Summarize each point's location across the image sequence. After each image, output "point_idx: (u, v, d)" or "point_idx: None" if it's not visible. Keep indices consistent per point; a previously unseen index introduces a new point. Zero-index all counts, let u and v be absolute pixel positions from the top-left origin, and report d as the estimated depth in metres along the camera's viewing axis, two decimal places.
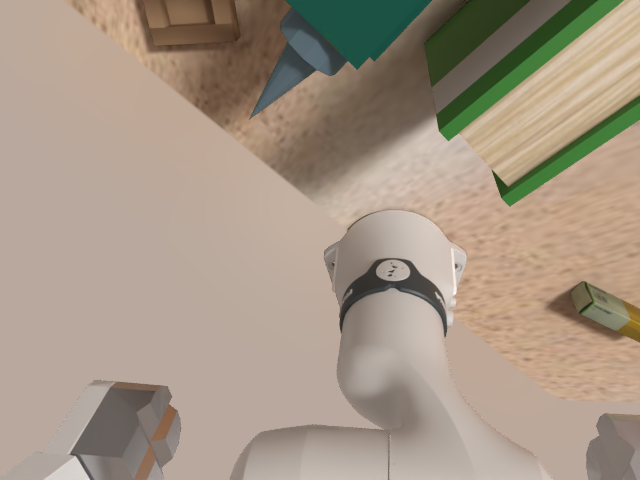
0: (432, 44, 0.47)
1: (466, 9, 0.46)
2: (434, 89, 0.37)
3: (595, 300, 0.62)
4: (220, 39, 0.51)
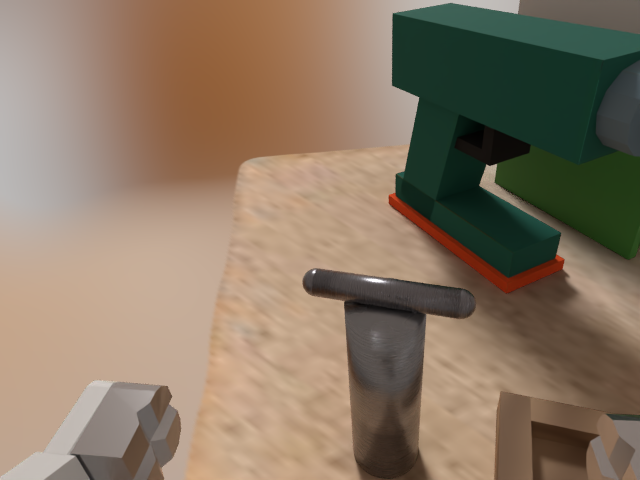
0: (628, 226, 0.43)
1: (587, 214, 0.47)
2: None
3: None
4: None
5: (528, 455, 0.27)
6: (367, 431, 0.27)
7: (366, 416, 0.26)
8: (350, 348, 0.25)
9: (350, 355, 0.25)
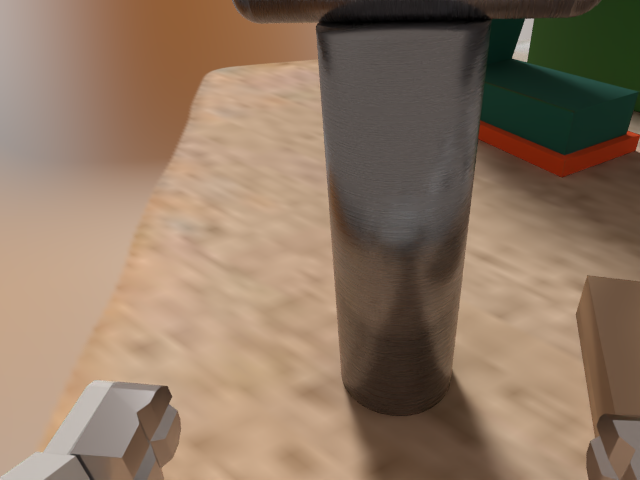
0: None
1: None
2: None
3: None
4: None
5: None
6: (365, 320, 0.15)
7: (363, 284, 0.14)
8: (329, 126, 0.12)
9: (330, 147, 0.12)
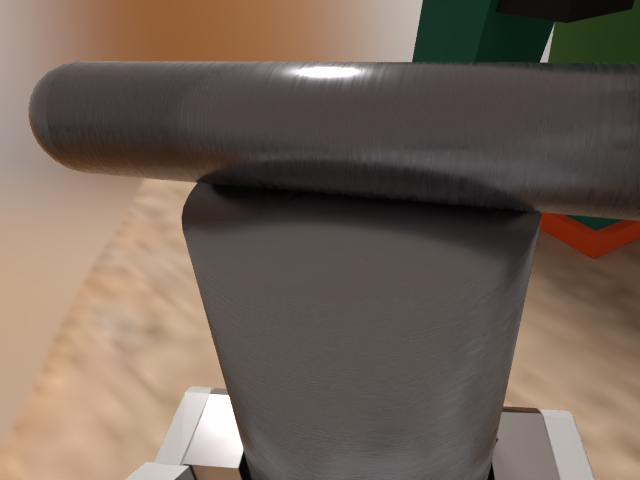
0: None
1: None
2: None
3: None
4: None
5: None
6: None
7: None
8: (223, 375, 0.06)
9: (230, 401, 0.07)
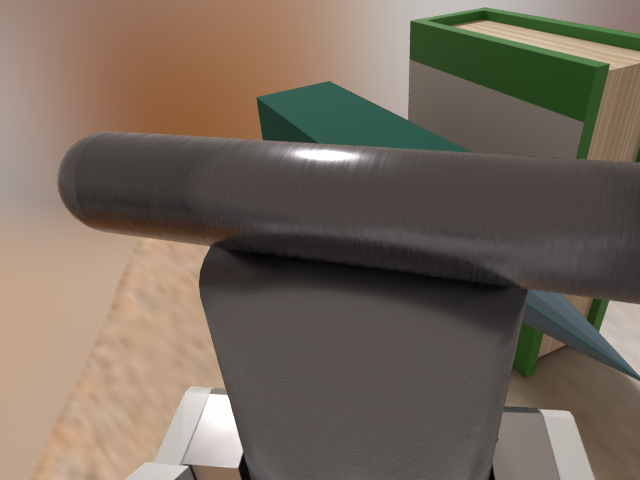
0: (522, 342, 0.38)
1: None
2: None
3: None
4: None
5: None
6: None
7: None
8: (235, 421, 0.07)
9: (241, 443, 0.07)
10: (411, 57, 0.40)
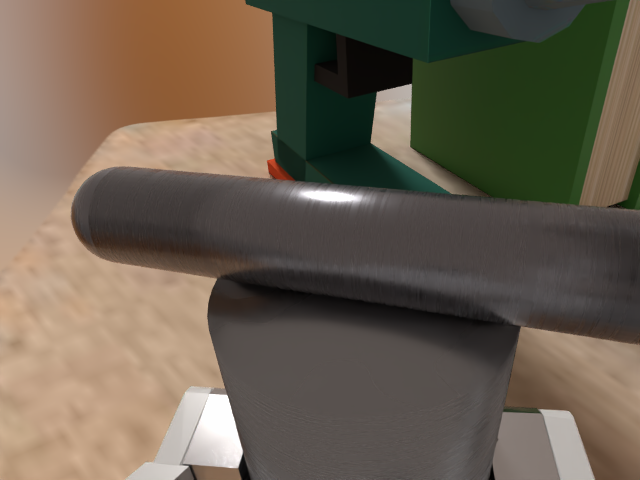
0: (559, 190, 0.30)
1: (509, 178, 0.34)
2: None
3: None
4: None
5: None
6: None
7: None
8: None
9: (246, 464, 0.07)
10: None
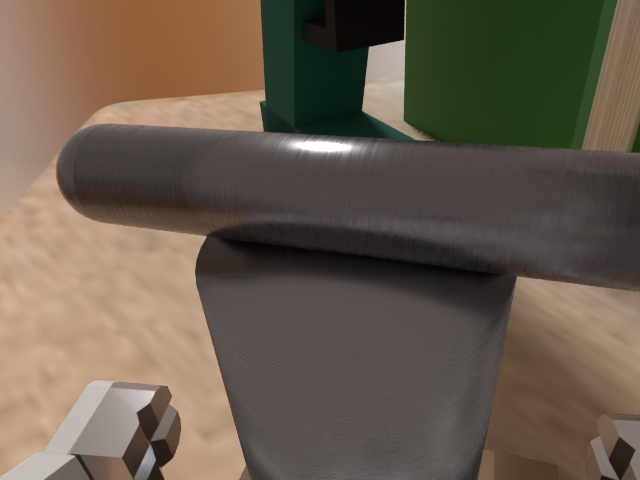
0: None
1: None
2: None
3: None
4: None
5: None
6: None
7: None
8: (231, 408, 0.07)
9: (237, 430, 0.07)
10: None
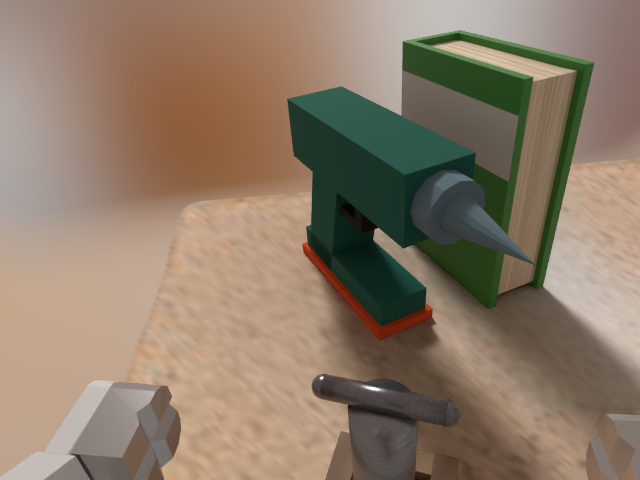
0: (486, 280, 0.51)
1: (460, 267, 0.54)
2: (508, 171, 0.43)
3: None
4: (452, 476, 0.35)
5: None
6: None
7: None
8: (353, 443, 0.28)
9: (353, 448, 0.29)
10: (403, 68, 0.53)
